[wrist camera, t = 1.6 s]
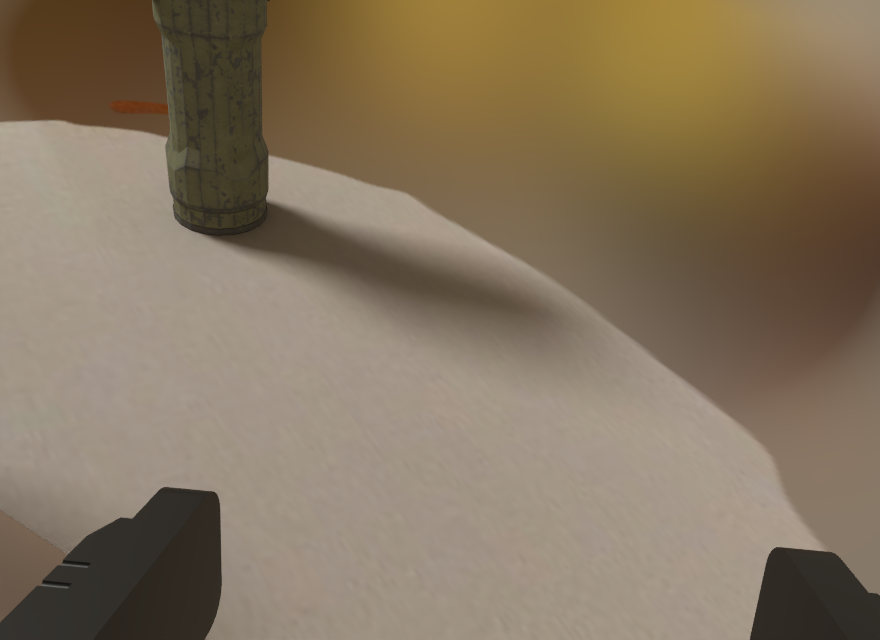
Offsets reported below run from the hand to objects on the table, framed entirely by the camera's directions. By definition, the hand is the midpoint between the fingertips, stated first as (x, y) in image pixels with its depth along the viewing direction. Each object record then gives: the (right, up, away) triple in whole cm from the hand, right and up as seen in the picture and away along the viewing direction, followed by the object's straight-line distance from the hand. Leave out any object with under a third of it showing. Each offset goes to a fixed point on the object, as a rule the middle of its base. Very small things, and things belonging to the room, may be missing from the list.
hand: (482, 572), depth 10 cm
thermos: (-22, +14, +58) cm, 63 cm away
